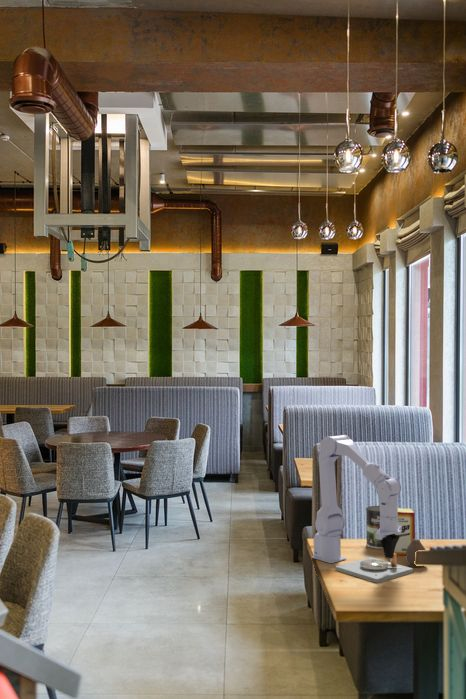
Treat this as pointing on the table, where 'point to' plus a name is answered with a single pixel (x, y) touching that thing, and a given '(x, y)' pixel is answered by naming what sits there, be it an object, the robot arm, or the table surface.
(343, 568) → the board
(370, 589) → the table surface
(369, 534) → the coffee can
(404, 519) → the baking soda box
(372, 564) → the dial
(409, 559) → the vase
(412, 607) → the table surface
